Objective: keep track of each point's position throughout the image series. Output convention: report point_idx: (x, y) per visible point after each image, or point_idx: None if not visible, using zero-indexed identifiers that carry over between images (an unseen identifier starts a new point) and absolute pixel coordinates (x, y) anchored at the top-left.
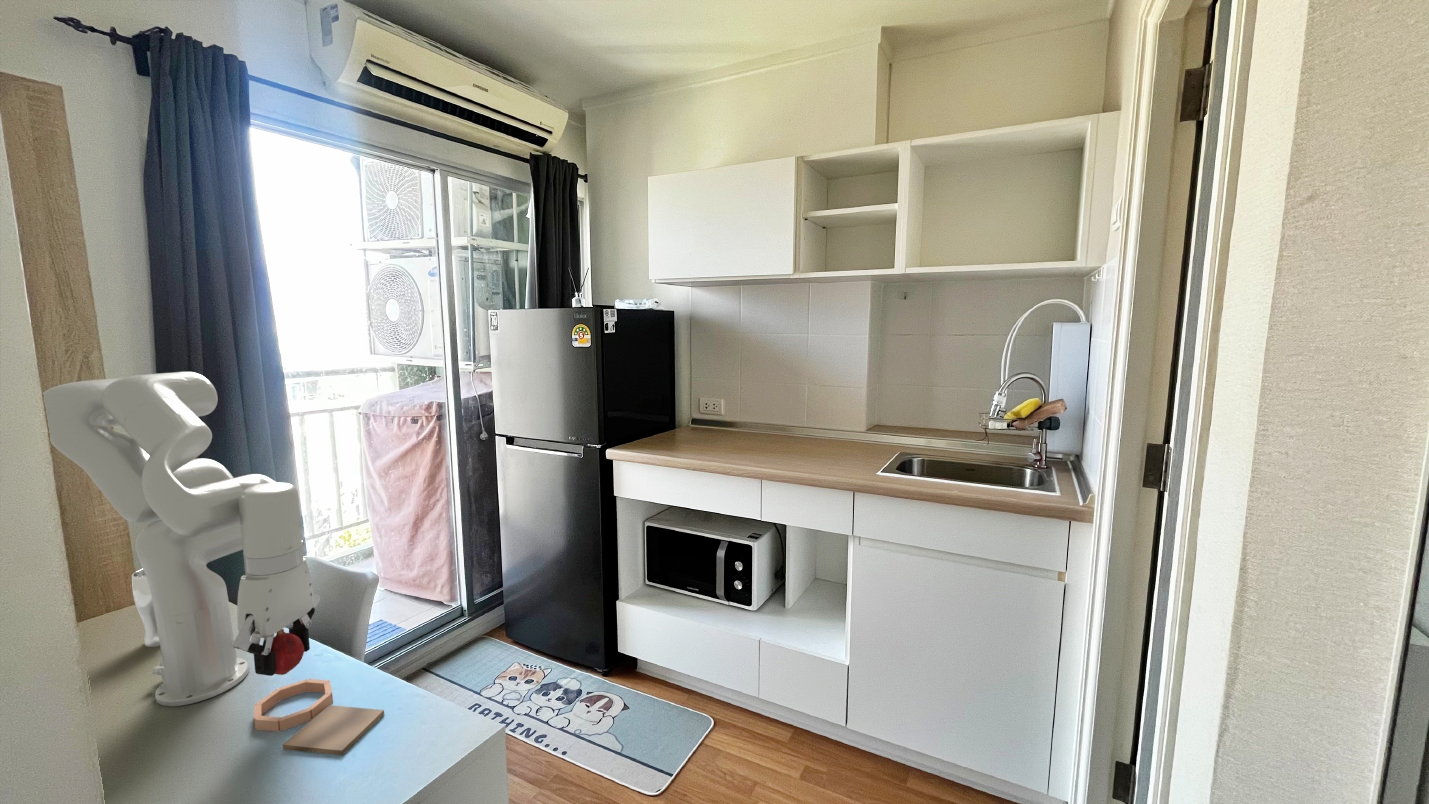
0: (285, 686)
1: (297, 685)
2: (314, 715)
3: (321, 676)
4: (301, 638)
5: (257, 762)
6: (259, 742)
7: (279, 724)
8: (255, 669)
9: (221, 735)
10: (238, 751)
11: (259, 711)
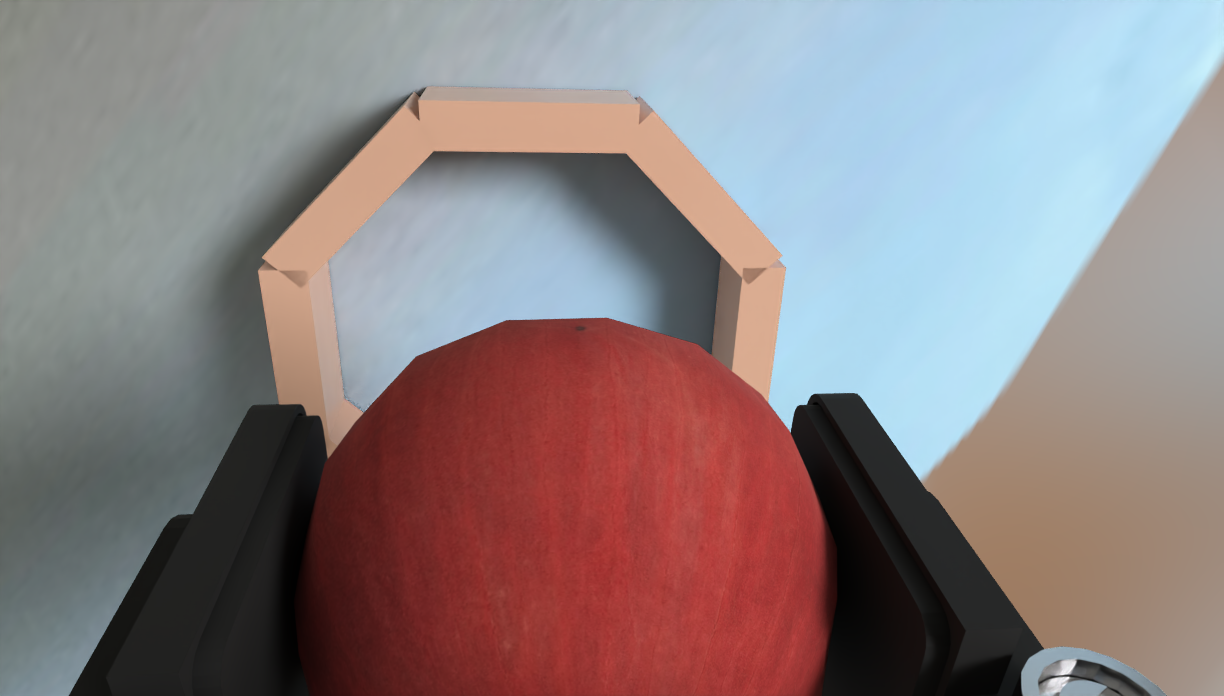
0: (678, 154)
1: (705, 235)
2: None
3: (906, 210)
4: (829, 692)
5: (53, 503)
6: (189, 371)
7: None
8: (171, 522)
9: (151, 15)
10: (74, 311)
11: (347, 222)
